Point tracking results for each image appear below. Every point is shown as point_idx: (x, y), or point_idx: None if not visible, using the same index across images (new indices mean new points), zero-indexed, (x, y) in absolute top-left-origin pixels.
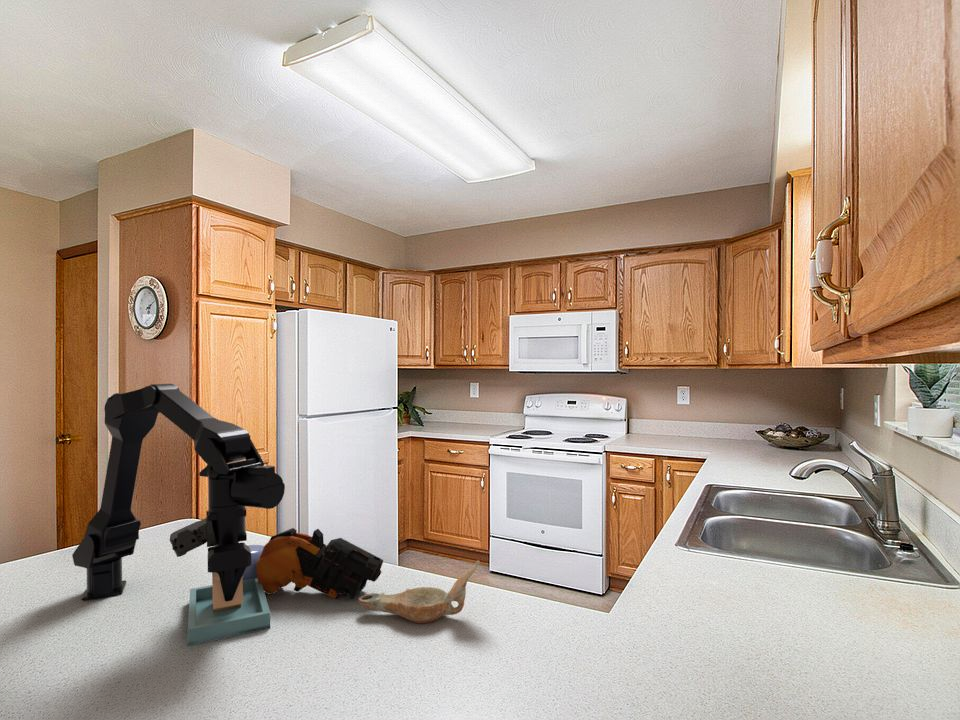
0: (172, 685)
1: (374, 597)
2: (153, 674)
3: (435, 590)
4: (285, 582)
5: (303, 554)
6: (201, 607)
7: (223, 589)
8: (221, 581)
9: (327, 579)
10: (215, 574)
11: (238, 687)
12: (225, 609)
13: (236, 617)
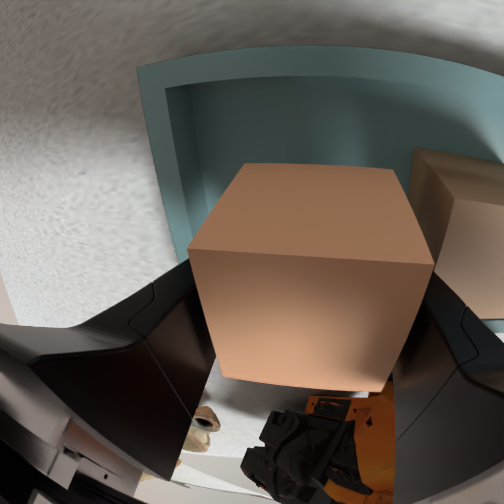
0: (16, 89)
1: (195, 425)
2: (54, 26)
3: (190, 449)
4: None
5: (350, 476)
6: (492, 119)
7: (178, 268)
8: (132, 298)
9: (292, 432)
10: (370, 281)
11: (13, 203)
12: (408, 194)
13: (188, 234)
